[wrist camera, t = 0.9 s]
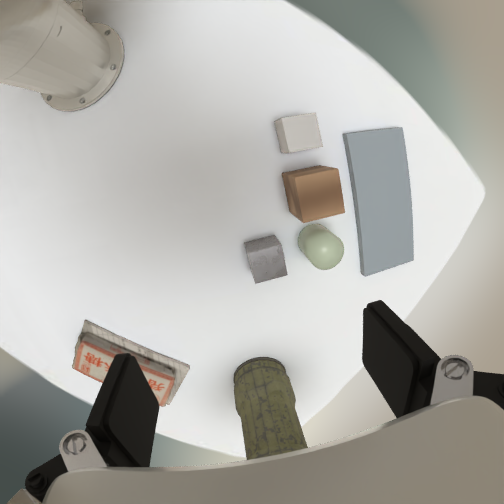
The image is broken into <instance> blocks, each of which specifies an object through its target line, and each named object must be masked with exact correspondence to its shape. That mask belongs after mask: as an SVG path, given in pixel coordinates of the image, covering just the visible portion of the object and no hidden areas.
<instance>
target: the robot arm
mask: <svg viewBox="0 0 504 504" xmlns="http://www.w3.org/2000/svg"><path fill="white" fill-rule="evenodd" d="M82 13H83V4H82V1H80V0H77V1H73V2H72V3H70V4H67V3H66V2H65V1H64V0H0V83H1V84H6V85H10V86H15V87H19V88H24V89H28V90H32V91H36V92H40V93H41V95H42V97H43V99H44V100H45V102H46V103H47V104H48V105H50V106H51V107H52V108H55V109H57V110H61V111H76V110H81V109H83V108H85V107H88V106H90V105H91V104H93V103H95V102H96V101H97V100H99V99H100V98H101V97H102V96H104V94H105V93H106V92H107V91H108V90H109V89H110V88H111V86H112V85H113V83H114V82H115V81H116V79H117V77H118V75H119V73H120V70H121V67H122V64H123V58H124V47H123V44H122V40H121V39H120V37H119V35H118V34H117V33H116V32H115V31H114V30H113V29H112V28H111V27H109V26H107V25H105V24H101V23H88V22H87V21H86V18H85V17H84V16H82ZM115 67H116V69H115V70H114V68H115ZM51 98H52V99H51ZM84 101H85V103H84ZM362 360H363V364H364V367H365V368H366V370H367V371H368V373H369V374H370V376H371V377H372V379H373V381H374V382H375V384H376V385H377V387H378V389H379V390H380V392H381V393H382V395H383V397H384V398H385V400H386V401H387V403H388V405H389V406H390V408H391V410H392V411H393V413H394V414H395V416H396V418H397V419H394V420H392V421H389V422H387V423H384V424H382V425H379V426H376V427H373V428H370V429H368V430H365V431H362V432H359V433H357V434H353V435H350V436H347V437H344V438H341V439H338V440H334V441H331V442H327V443H324V444H320V445H317V446H313V447H309V448H305V449H301V450H297V451H292V452H288V453H283V454H278V455H273V456H268V457H263V458H257V459H251V460H244V461H237V462H230V463H221V464H211V465H201V466H184V467H149V466H150V458H151V453H152V446H153V440H154V434H155V429H156V423H157V417H158V412H159V402H158V400H157V398H156V396H155V394H154V392H153V391H152V389H151V387H150V385H149V383H148V381H147V379H146V377H145V375H144V373H143V372H142V370H141V368H140V366H139V364H138V362H137V359H136V358H135V356H131V354H130V353H122V354H116V355H115V356H114V359H113V361H112V363H111V365H110V368H109V370H108V372H107V374H106V377H105V379H104V381H103V384H102V386H101V388H100V391H99V393H98V396H97V398H96V400H95V403H94V405H93V408H92V410H91V413H90V416H89V418H88V420H87V423H86V426H87V427H86V429H85V431H83V430H74V431H71V432H69V433H68V434H66V435H65V436H64V437H63V438H62V440H61V442H60V446H59V448H60V453H61V454H59V455H58V456H56V457H54V458H53V459H51V460H50V461H48V462H46V463H44V464H43V465H41V466H39V467H37V468H36V469H34V470H32V471H31V472H30V473H29V474H28V476H27V478H26V481H25V486H26V490H23V489H21V490H20V491H19V492H18V493H17V494H16V495H15V496H14V497H13V498H12V499H11V500H10V501H9V502H8V503H7V504H504V374H495V373H486V372H477V371H473V365H472V363H471V362H470V361H469V360H468V359H467V358H465V357H462V356H459V355H450V356H446V357H444V358H443V359H441V358H440V357H439V356H438V355H437V354H436V353H435V352H434V351H433V350H432V349H431V348H430V347H429V346H428V345H427V344H426V343H425V342H424V341H423V340H422V339H421V338H420V337H419V336H418V335H417V334H416V333H415V332H414V331H413V330H412V329H411V327H409V326H408V325H407V324H405V323H404V322H403V321H402V320H401V319H400V318H399V317H398V316H397V315H396V314H395V313H394V312H393V311H392V310H391V309H390V308H389V307H388V306H387V305H386V304H385V303H384V302H383V301H382V300H378V301H375V302H372V303H368V304H367V308H364V310H363V353H362Z"/></svg>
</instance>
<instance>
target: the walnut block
mask: <svg viewBox="0 0 504 504" xmlns="http://www.w3.org/2000/svg"><path fill="white" fill-rule="evenodd" d="M282 177H283V181H284V186H285V191H286V196H287V201H288V206H289V211H290V212H291V213H292V214H293V215H294V216H295V217H297V218H298V219H299V220H300V221H301V222H303V223H305V222H309V221H313V220H317V219H322V218H326V217H330V216H334V215H338V214H342V213H345V209H344V202H343V195H342V189H341V183H340V177H339V171H338V169H337V168H332V167H326V166H320V165H319V166H314V167H309V168H304V169H299V170H295V171H290V172H285V173H282Z"/></svg>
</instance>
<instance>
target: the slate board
mask: <svg viewBox="0 0 504 504" xmlns="http://www.w3.org/2000/svg"><path fill="white" fill-rule="evenodd" d="M343 138H344V144H345V149H346V154H347V160H348V166H349V172H350V178H351V185H352V192H353V199H354V206H355V214H356V223H357V232H358V241H359V252H360V264H361V274H362V275H363V276H368V275H372V274H375V273H378V272H381V271H384V270H387V269H390V268H393V267H396V266H398V265H401V264H404V263H407V262H410V261H413V259H414V254H413V217H412V201H411V189H410V179H409V170H408V161H407V154H406V147H405V140H404V134H403V128H402V127H401V128H389V129H379V130H370V131H362V132H354V133H347V134H343Z"/></svg>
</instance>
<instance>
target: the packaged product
mask: <svg viewBox="0 0 504 504" xmlns="http://www.w3.org/2000/svg"><path fill="white" fill-rule="evenodd" d="M122 353H130V354H131V356H135V358H136V359H137V362H138V364H139V366H140V368H141V370H142V372H143V373H144V375H145V377H146V379H147V381H148V383H149V385H150V387H151V389H152V391H153V392H154V394H155V396H156V398H157V400H158V402H159V406H162V407H163V406H165V405H166V404H168V405H169V404H170V403H171V401H172V399H173V397H174V396H175V394H176V392H177V390H178V388H179V387H180V385H181V383H182V381H183V380H184V378H185V376H186V374H187V372H188V370H189V369H190V365H188V364H185V363H183V362H180V361H177V360H174V359H171V358H168V357H166V356H164V355H161V354H159V353H156V352H154V351H152V350H150V349H147V348H145V347H143V346H141V345H138V344H136V343H134V342H132V341H130V340H128V339H126V338H123V337H121V336H118V335H115V334H114V333H112V332H110V331H107V330H105V329H103V328H101V327H99V326H97V325H95V324H93V323H91V322H89V321H87V320H85V321H84V325H83V329H82V333H81V334H80V335H79V337H78V342H77V344H76V346H75V357H74V360H73V365H72V368H73V369H75V370H77V371H79V372H81V373H83V374H84V375H87V376H88V377H91V378H93V379H95V380H97V381H99V382H102V383H103V381H104V379H105V377H106V374H107V372H108V370H109V368H110V365H111V363H112V361H113V359H114V356H115V355H116V354H122Z"/></svg>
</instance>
